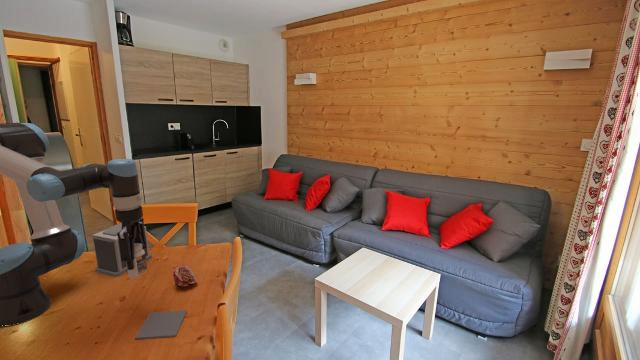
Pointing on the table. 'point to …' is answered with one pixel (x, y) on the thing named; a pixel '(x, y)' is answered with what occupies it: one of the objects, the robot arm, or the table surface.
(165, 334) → the slate coaster
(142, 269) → the pill bottle
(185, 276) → the flower
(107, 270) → the grey box
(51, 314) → the table surface
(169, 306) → the table surface
